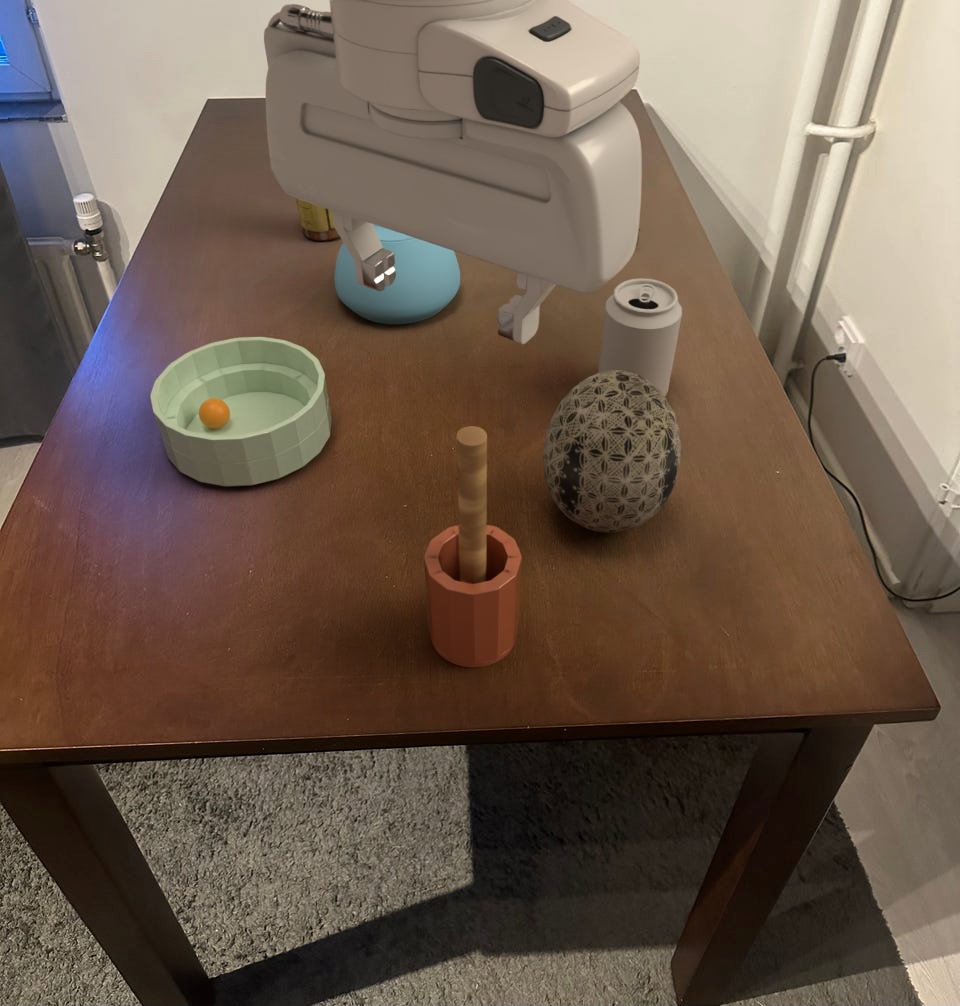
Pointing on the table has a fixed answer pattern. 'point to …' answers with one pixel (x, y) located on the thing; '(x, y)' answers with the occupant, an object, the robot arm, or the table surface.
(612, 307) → the can
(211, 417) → the bead
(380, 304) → the sugar bowl
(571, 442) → the decorative egg
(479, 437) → the stirring stick
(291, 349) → the bowl
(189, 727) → the table surface
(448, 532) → the utensil pot
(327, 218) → the sauce bottle
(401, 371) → the table surface
